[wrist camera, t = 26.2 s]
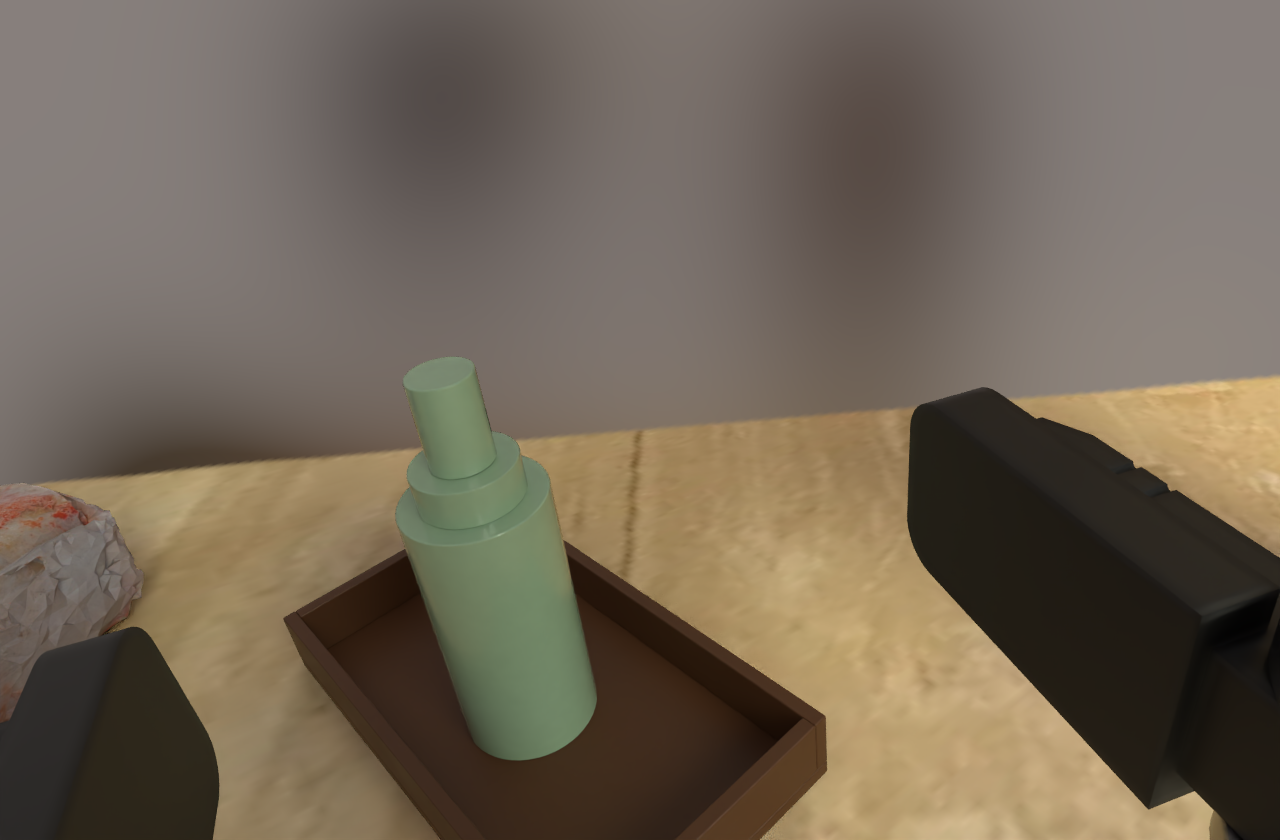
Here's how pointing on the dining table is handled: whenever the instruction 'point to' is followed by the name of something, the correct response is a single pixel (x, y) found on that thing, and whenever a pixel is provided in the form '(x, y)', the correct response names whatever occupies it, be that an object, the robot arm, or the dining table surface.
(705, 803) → the tray
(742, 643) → the dining table surface
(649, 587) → the dining table surface
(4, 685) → the grey rough block
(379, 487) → the dining table surface
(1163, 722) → the robot arm
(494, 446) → the sage bottle
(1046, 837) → the dining table surface
